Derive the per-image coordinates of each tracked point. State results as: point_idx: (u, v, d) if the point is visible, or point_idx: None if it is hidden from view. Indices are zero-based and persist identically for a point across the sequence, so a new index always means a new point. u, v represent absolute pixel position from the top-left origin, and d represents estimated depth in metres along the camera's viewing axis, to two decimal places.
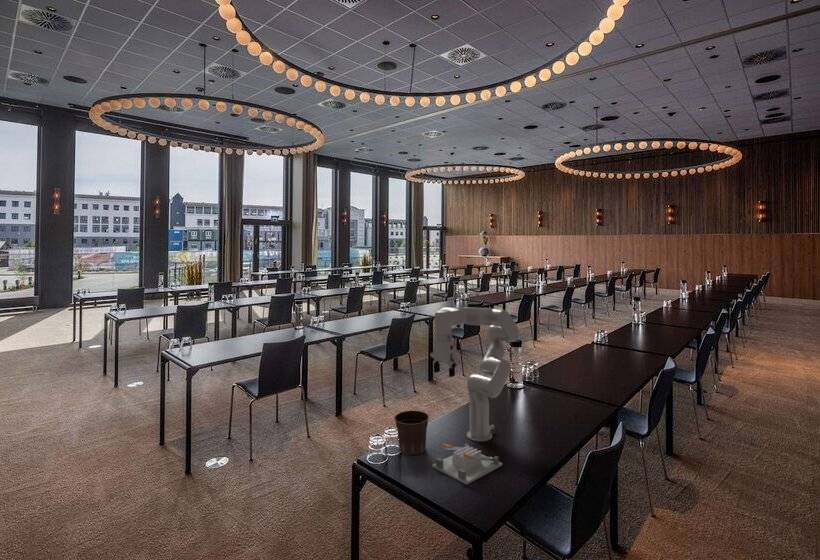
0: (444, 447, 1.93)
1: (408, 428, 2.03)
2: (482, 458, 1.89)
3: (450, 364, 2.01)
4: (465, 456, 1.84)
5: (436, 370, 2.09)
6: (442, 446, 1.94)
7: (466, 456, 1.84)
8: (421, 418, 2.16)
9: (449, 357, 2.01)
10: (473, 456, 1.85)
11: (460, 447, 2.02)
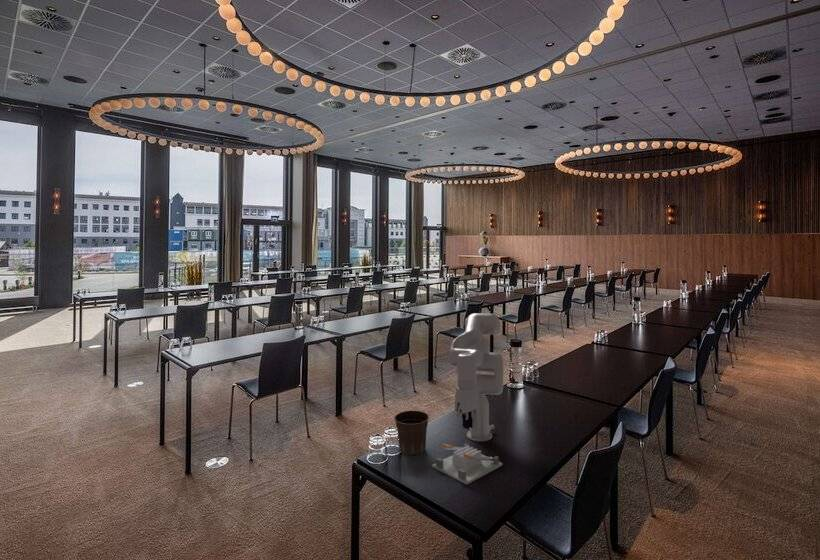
0: (444, 447, 1.93)
1: (407, 428, 2.03)
2: (482, 458, 1.89)
3: (473, 413, 1.84)
4: (465, 456, 1.84)
5: None
6: (442, 446, 1.94)
7: (466, 456, 1.84)
8: (421, 418, 2.16)
9: None
10: (473, 456, 1.85)
11: (460, 447, 2.02)
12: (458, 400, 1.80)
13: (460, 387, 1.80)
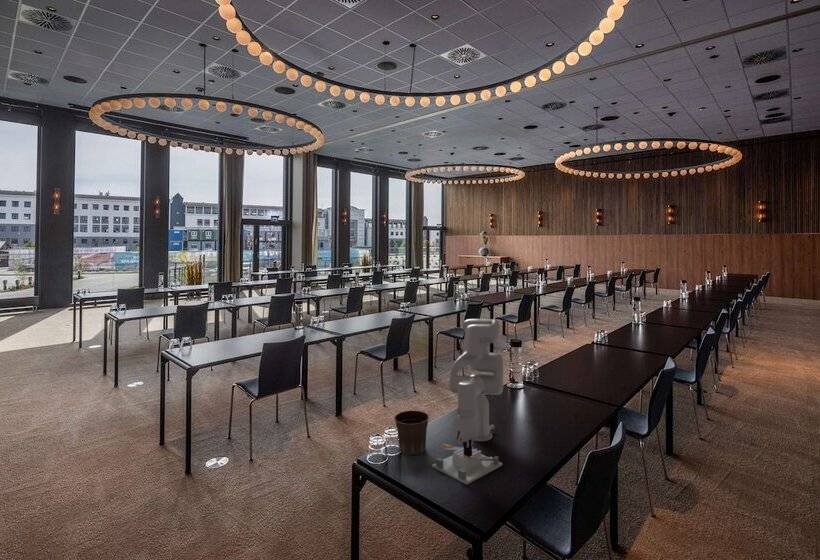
0: (444, 447, 1.93)
1: (407, 428, 2.03)
2: (482, 458, 1.89)
3: (473, 441, 1.85)
4: (465, 457, 1.84)
5: None
6: (442, 446, 1.94)
7: (466, 457, 1.84)
8: (421, 418, 2.16)
9: None
10: (473, 457, 1.85)
11: (460, 447, 2.02)
12: (458, 428, 1.81)
13: (460, 415, 1.81)
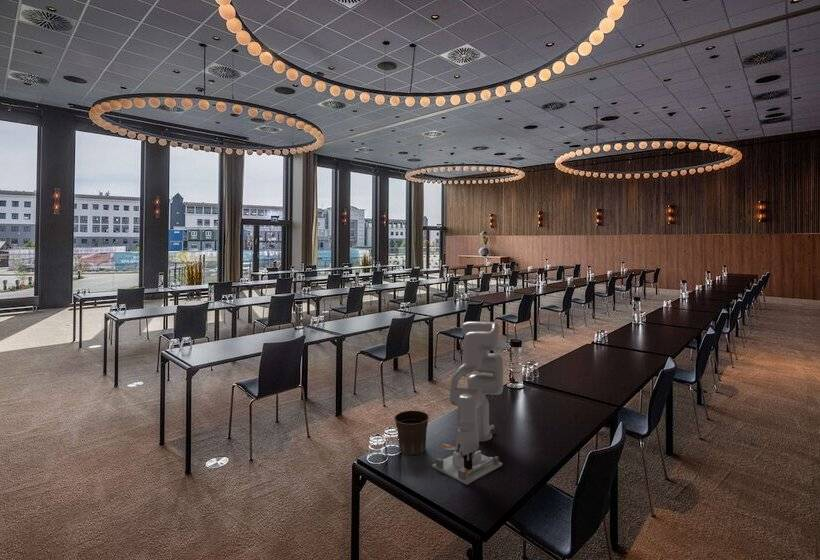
0: (444, 447, 1.93)
1: (407, 428, 2.03)
2: (481, 465, 1.89)
3: (473, 454, 1.85)
4: None
5: None
6: (442, 446, 1.94)
7: None
8: (421, 418, 2.16)
9: None
10: (471, 469, 1.84)
11: None
12: (459, 442, 1.81)
13: (461, 429, 1.81)
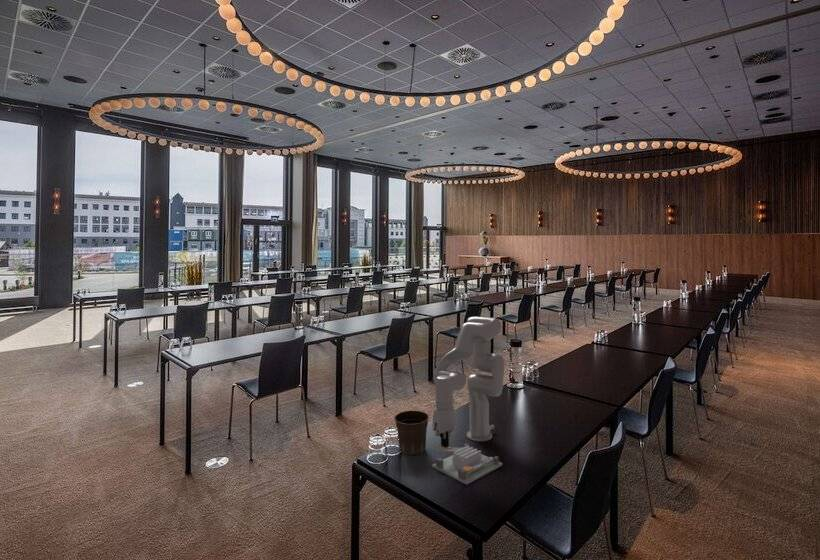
0: (444, 449, 1.93)
1: (407, 428, 2.03)
2: (481, 465, 1.89)
3: None
4: None
5: None
6: (442, 448, 1.94)
7: None
8: (421, 418, 2.16)
9: None
10: (471, 469, 1.84)
11: (460, 448, 2.02)
12: (435, 420, 1.91)
13: (438, 408, 1.91)
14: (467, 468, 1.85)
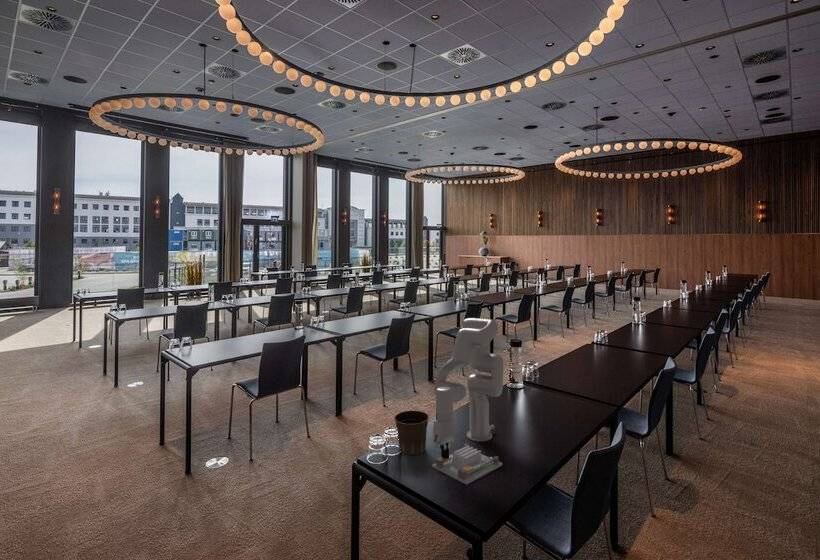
0: None
1: (407, 428, 2.03)
2: (481, 465, 1.89)
3: (450, 444, 1.95)
4: None
5: None
6: None
7: None
8: (421, 418, 2.16)
9: None
10: (471, 469, 1.84)
11: None
12: (436, 432, 1.91)
13: (438, 420, 1.91)
14: (467, 468, 1.85)
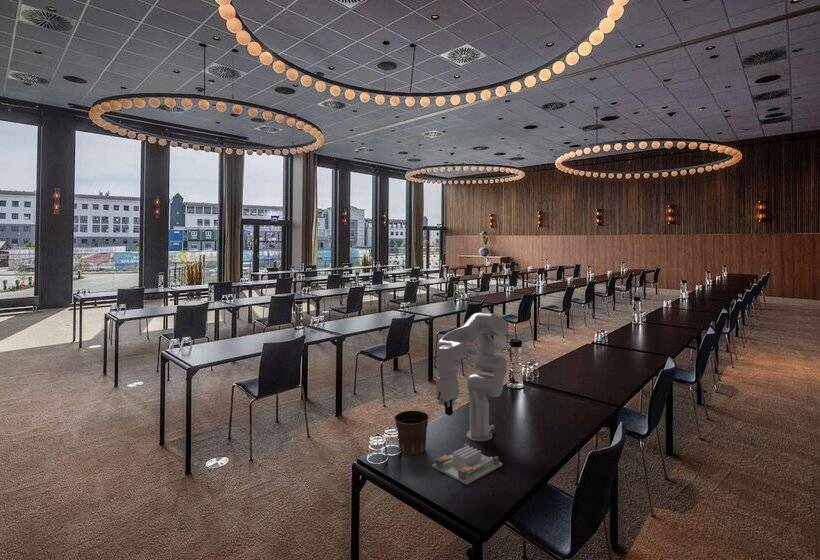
0: None
1: (407, 428, 2.03)
2: (481, 465, 1.89)
3: (453, 401, 1.97)
4: None
5: None
6: None
7: None
8: (421, 418, 2.16)
9: None
10: (471, 469, 1.84)
11: None
12: (439, 389, 1.93)
13: (441, 377, 1.93)
14: (467, 468, 1.85)
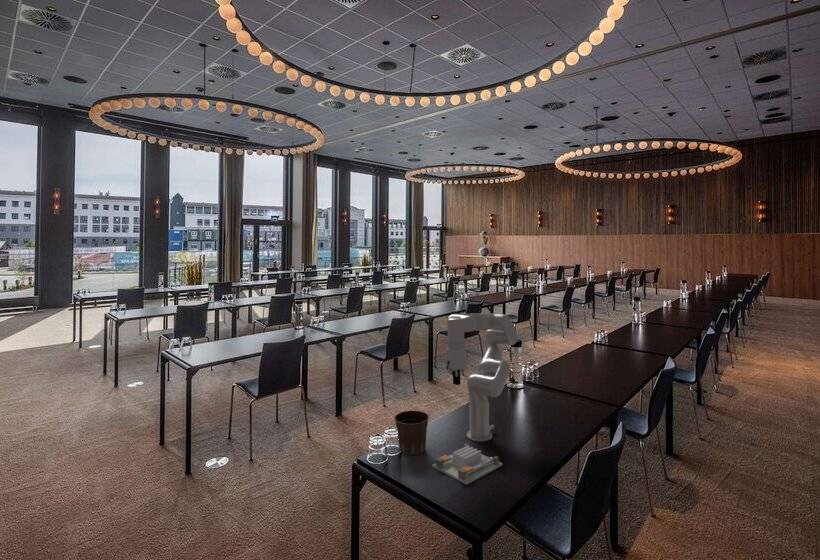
0: None
1: (407, 428, 2.03)
2: (481, 465, 1.89)
3: (461, 372, 2.06)
4: None
5: None
6: None
7: None
8: (421, 418, 2.16)
9: None
10: (471, 469, 1.84)
11: None
12: (448, 359, 2.02)
13: (450, 347, 2.02)
14: (467, 468, 1.85)
